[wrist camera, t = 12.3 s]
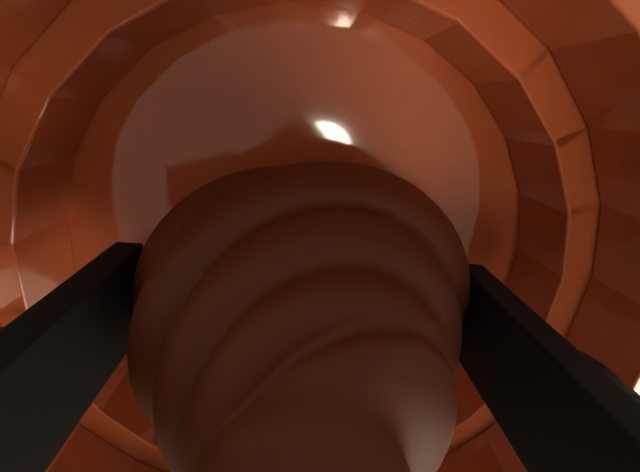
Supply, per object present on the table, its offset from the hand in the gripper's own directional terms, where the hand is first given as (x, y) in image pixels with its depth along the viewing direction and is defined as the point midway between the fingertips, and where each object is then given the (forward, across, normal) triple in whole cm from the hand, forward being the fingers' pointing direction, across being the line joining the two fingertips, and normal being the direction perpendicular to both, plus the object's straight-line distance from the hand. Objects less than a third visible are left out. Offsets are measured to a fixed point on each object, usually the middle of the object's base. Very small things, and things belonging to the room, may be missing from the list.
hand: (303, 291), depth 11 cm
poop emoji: (+1, 0, 0) cm, 1 cm away
